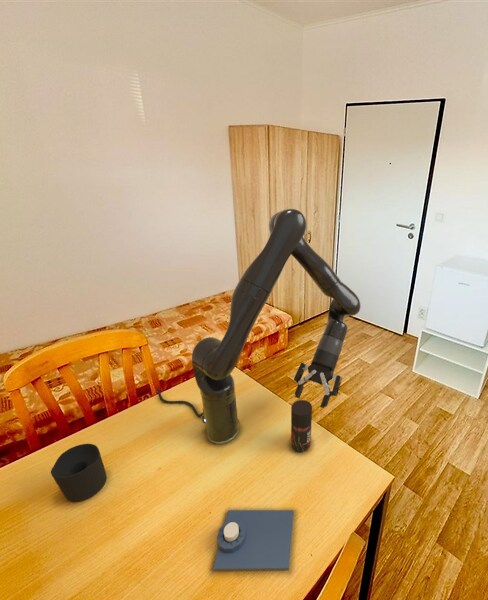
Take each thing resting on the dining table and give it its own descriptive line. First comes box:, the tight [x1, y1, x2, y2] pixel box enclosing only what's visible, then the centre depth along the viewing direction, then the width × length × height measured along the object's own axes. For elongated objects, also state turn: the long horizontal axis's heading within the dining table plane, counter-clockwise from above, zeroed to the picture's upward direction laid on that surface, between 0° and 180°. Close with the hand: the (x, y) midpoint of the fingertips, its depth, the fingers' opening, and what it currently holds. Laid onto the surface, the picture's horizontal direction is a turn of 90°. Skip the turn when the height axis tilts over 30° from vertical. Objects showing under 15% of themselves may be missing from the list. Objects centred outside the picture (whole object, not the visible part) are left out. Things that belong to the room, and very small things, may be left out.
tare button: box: [224, 522, 239, 542], centre depth 71 cm, size 3×3×2 cm
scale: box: [212, 509, 294, 572], centre depth 72 cm, size 17×12×2 cm
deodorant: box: [290, 399, 313, 453], centre depth 94 cm, size 6×6×15 cm
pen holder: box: [50, 443, 108, 503], centre depth 79 cm, size 9×9×10 cm
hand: (309, 402), depth 95 cm, fingers open, 8 cm apart
